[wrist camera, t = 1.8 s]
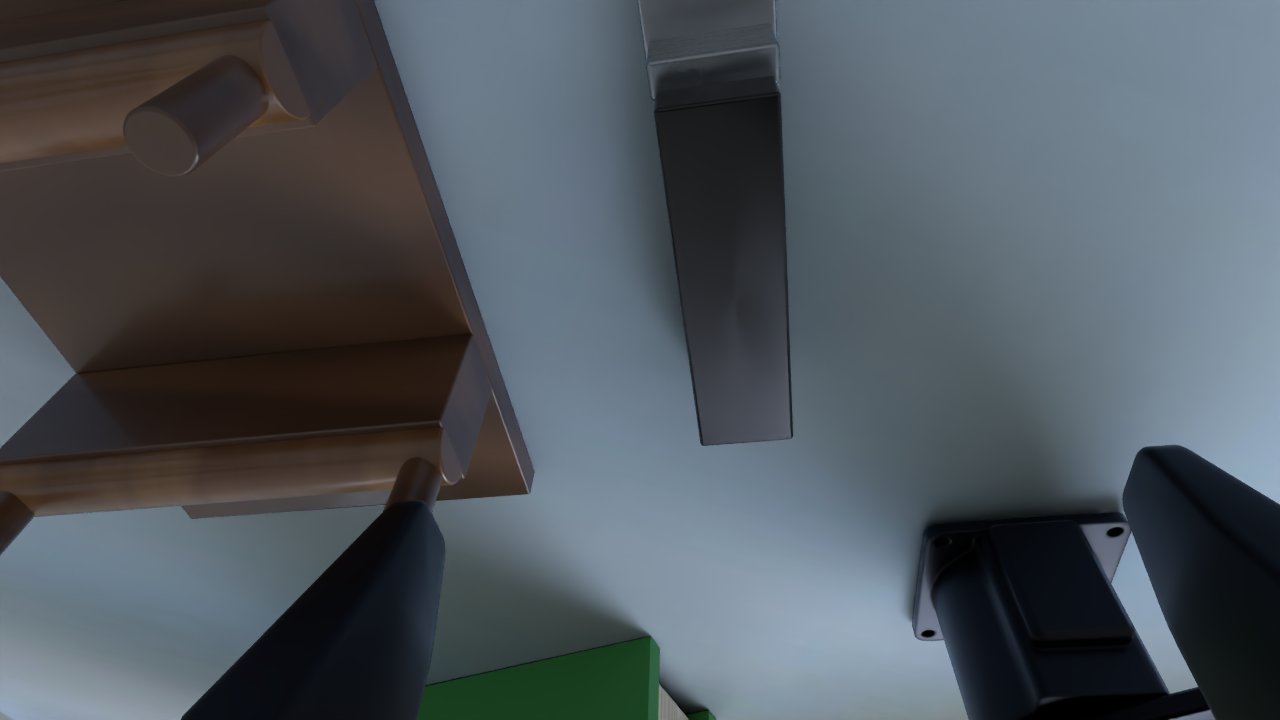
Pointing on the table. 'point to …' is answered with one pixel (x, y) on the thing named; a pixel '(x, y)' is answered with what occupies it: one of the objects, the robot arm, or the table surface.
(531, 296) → the table surface
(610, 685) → the hardback book
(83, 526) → the table surface
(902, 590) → the table surface
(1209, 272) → the table surface
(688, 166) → the kitchen knife
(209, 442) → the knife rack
